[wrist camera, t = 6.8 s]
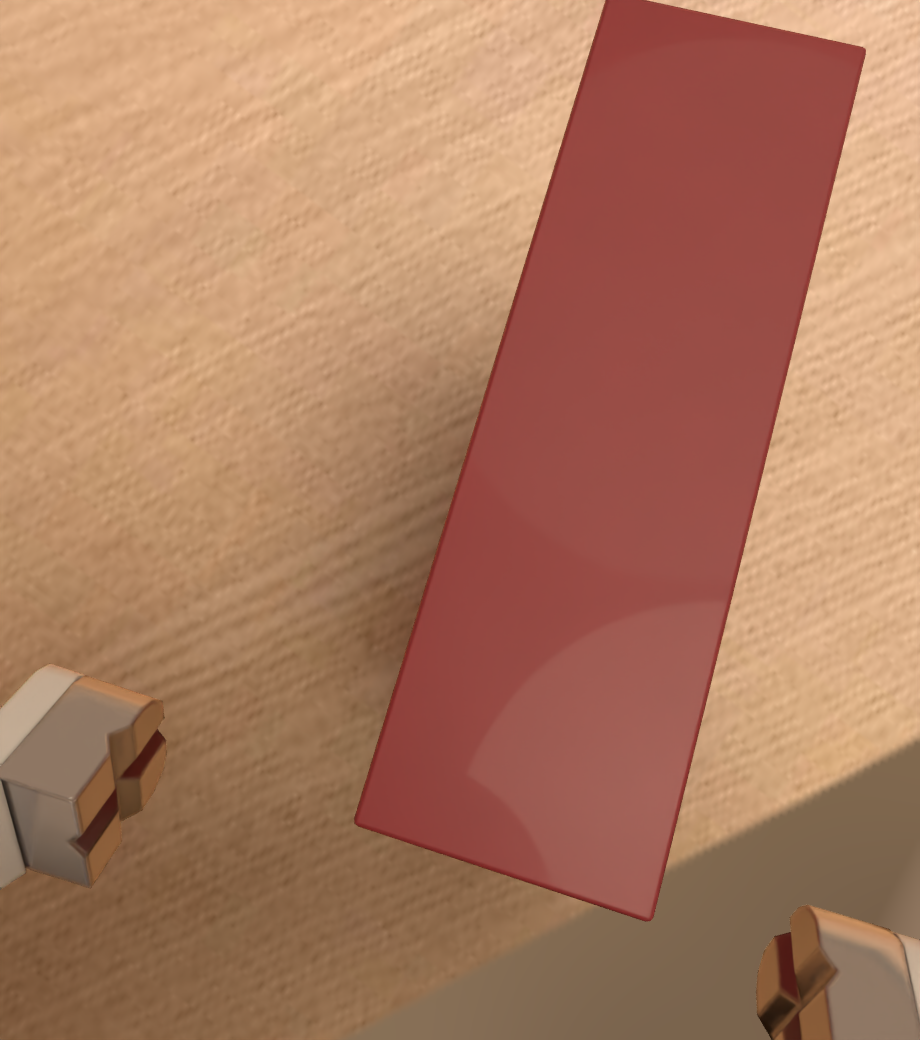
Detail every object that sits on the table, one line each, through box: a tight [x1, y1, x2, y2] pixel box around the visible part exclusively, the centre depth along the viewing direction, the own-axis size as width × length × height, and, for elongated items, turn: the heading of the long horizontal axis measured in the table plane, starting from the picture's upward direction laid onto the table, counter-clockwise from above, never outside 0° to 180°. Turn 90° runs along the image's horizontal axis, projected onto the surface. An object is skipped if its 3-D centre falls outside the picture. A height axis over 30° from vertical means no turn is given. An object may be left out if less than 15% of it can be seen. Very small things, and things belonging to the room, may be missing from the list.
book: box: [354, 0, 866, 921], centre depth 14 cm, size 9×3×13 cm, turn 163°
